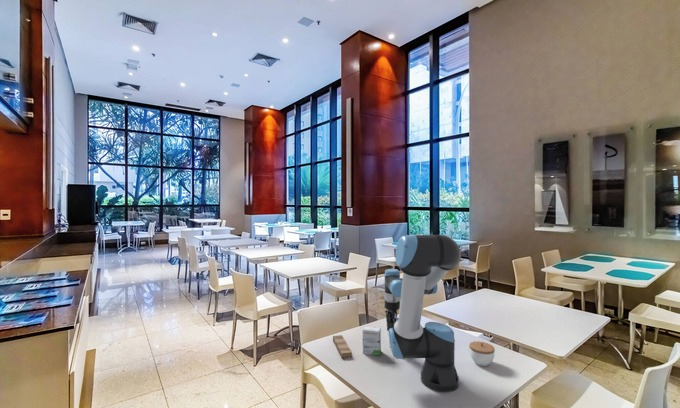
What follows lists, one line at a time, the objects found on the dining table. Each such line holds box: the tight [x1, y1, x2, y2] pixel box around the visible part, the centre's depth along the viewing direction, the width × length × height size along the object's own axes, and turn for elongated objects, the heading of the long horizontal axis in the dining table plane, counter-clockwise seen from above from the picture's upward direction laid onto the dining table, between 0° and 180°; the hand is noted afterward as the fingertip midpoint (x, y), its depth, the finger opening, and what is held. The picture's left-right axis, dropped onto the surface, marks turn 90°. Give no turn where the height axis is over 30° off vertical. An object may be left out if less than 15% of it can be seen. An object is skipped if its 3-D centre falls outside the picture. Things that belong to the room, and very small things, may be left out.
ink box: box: [362, 326, 382, 356], centre depth 158 cm, size 9×5×12 cm, turn 75°
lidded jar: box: [468, 340, 496, 367], centre depth 148 cm, size 11×11×9 cm
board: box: [332, 334, 353, 360], centre depth 162 cm, size 20×5×2 cm, turn 13°
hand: (392, 347), depth 161 cm, fingers closed
